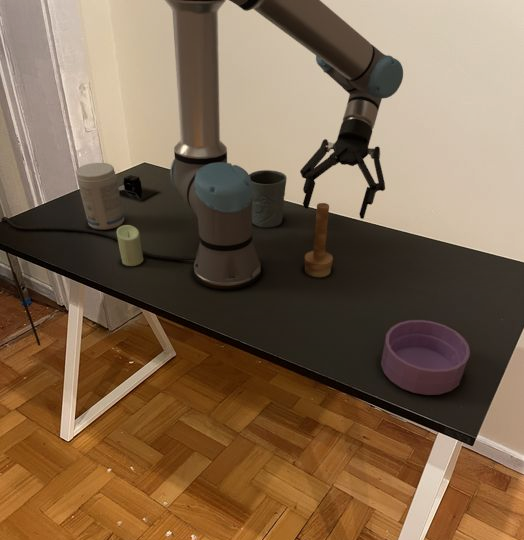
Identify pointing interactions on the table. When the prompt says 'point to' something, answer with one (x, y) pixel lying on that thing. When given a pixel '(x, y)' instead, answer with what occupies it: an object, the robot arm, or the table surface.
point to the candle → (129, 245)
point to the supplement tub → (100, 195)
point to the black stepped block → (134, 189)
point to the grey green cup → (267, 197)
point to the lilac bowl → (424, 357)
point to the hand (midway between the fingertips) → (332, 211)
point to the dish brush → (319, 246)
